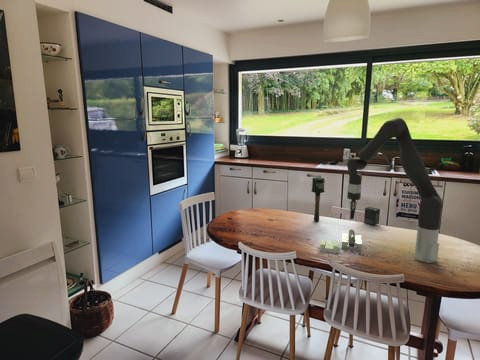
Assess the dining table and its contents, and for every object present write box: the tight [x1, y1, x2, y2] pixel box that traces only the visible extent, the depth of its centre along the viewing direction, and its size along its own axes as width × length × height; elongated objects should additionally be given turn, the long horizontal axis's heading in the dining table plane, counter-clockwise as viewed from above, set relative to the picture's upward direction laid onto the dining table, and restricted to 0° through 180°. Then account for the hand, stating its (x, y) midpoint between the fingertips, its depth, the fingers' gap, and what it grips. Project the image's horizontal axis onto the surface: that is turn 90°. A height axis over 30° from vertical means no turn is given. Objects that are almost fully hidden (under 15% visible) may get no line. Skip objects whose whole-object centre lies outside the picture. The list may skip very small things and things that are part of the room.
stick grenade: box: [310, 176, 325, 223], centre depth 216 cm, size 8×9×30 cm
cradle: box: [319, 238, 340, 254], centre depth 175 cm, size 8×9×4 cm
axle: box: [348, 229, 356, 247], centre depth 182 cm, size 18×3×3 cm, turn 161°
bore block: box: [341, 233, 363, 252], centre depth 179 cm, size 12×10×4 cm
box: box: [363, 206, 381, 226], centre depth 214 cm, size 8×6×11 cm
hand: (351, 218), depth 194 cm, fingers closed
